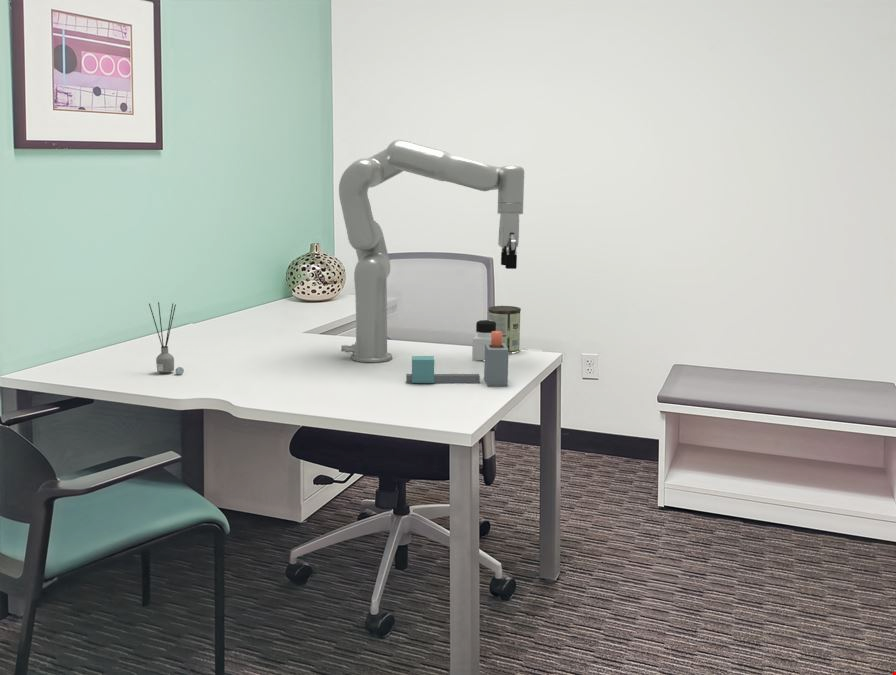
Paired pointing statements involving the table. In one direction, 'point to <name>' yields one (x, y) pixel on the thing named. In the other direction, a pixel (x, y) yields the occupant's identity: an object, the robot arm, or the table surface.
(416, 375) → the block
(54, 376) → the table surface
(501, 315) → the coffee can
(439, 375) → the rail
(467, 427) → the table surface
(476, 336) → the medicine bottle
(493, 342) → the plunger
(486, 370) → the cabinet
